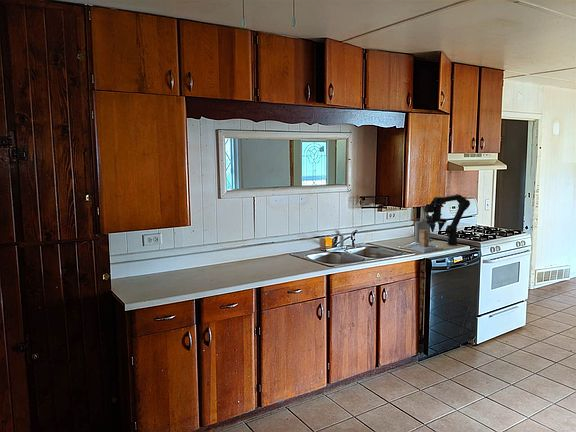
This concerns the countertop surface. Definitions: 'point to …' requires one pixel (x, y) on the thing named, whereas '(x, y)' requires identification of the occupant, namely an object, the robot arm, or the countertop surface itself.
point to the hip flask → (421, 228)
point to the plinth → (424, 248)
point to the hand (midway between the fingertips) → (436, 231)
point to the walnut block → (423, 238)
